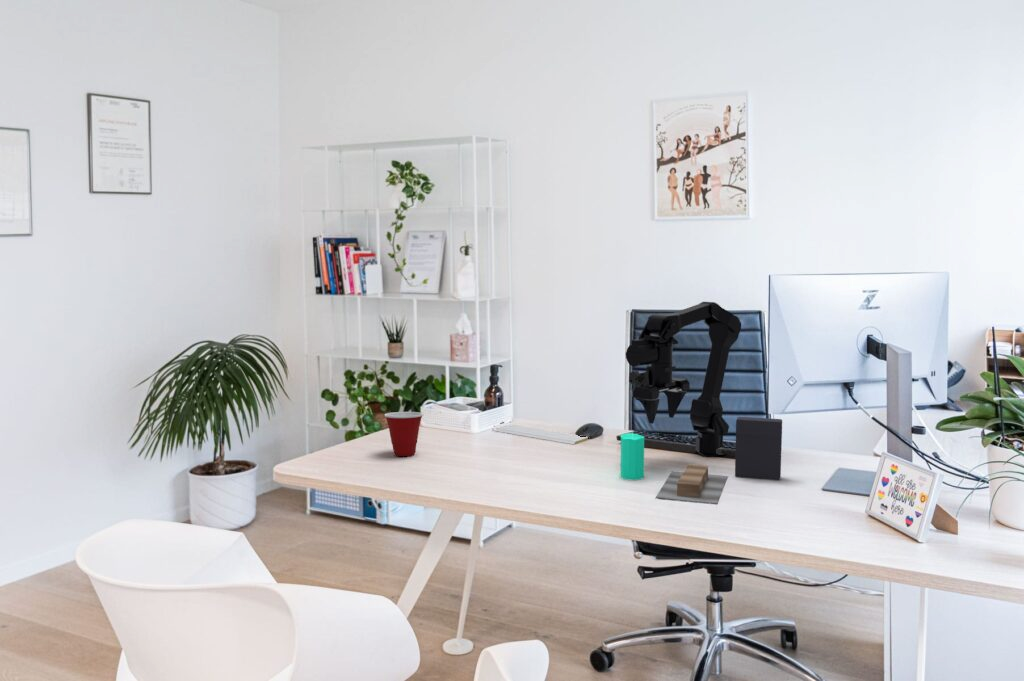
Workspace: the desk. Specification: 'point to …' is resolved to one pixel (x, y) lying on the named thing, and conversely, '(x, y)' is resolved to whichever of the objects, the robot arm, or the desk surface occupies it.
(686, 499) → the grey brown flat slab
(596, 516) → the desk surface
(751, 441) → the upright charcoal slab
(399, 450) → the plastic cup
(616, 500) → the desk surface
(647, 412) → the robot arm
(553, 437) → the baseboard
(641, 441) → the candle
